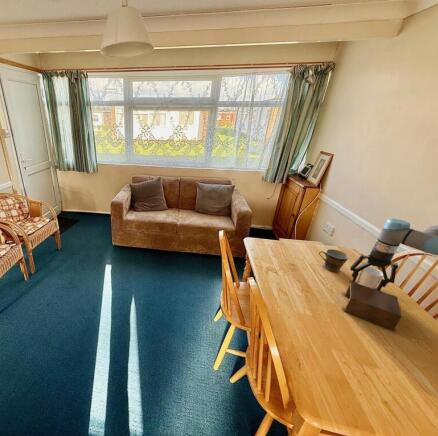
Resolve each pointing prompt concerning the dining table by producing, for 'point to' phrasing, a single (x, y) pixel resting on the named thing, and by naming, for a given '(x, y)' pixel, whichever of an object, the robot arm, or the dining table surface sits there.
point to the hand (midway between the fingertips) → (364, 286)
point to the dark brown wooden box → (373, 305)
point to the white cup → (370, 277)
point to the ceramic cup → (334, 259)
